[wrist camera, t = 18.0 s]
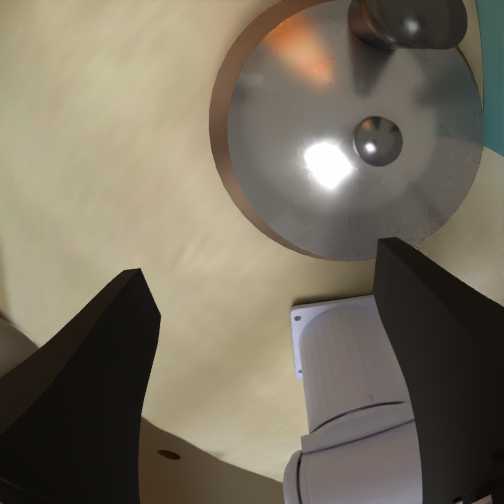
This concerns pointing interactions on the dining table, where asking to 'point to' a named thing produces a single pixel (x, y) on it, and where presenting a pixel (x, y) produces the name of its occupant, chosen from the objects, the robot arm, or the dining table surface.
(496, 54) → the tray
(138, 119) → the dining table surface
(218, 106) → the crank base
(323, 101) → the crank
